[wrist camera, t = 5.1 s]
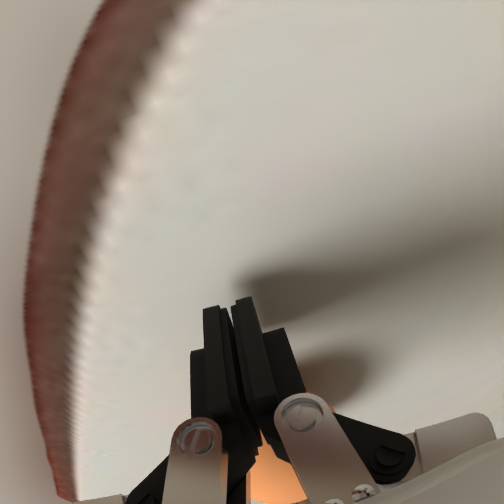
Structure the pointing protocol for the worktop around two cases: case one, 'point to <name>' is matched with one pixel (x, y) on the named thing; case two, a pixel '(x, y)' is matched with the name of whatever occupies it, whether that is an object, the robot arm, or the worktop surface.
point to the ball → (274, 478)
